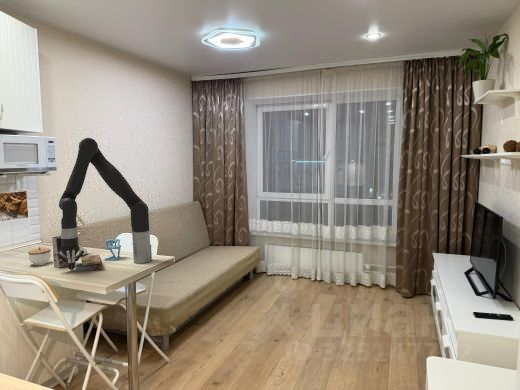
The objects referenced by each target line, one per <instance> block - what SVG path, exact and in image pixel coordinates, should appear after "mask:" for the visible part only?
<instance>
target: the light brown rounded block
mask: <svg viewBox="0 0 520 390" xmlns="http://www.w3.org/2000/svg"><path fill="white" fill-rule="evenodd" d="M80 259H81V263H82V265H83V266H85V265H92V264H97V270H99V271H103V261H102V258H101V255H100V254H95V255H94V254H93V255H87V256H86V255H85V256H81V257H80Z"/></svg>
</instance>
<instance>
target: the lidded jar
mask: <svg viewBox="0 0 520 390" xmlns="http://www.w3.org/2000/svg"><path fill="white" fill-rule="evenodd" d="M27 253H28V259H29V262H30V263H31V264H32V265H34V266H36V265H38V266H43V265H46V264H48V262H49V261H50V260H51V255H52V254H51V253H52V252H51V248H50V247H43V248H42V247H38V248H36V249H35V248H34V249H31V250H28V251H27Z"/></svg>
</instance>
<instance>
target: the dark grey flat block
mask: <svg viewBox="0 0 520 390" xmlns="http://www.w3.org/2000/svg"><path fill="white" fill-rule="evenodd" d="M93 270H98V268H97V264H92V265H85V266H83V265H82V262H80V263H76V264H75V273H78V272H86V271H93Z"/></svg>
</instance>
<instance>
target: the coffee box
mask: <svg viewBox="0 0 520 390" xmlns="http://www.w3.org/2000/svg"><path fill="white" fill-rule="evenodd" d="M51 239H52V253H53V254H52V255H53V256H52V257H53V258H52V259H53V267H56V268H57V269H61V268H65V267H69V265H68V263H67V262H66V263H65V262H64V261H63V260H62V259H60V258H59V257H58V256H57V253H59V252H60V251H61V249H62V237H61V235H57V236H53V237H52V238H51ZM62 254H63V253H62ZM62 256H63V257H64V258H65V259H67V260H68V258H67V256H65V255H64V254H63V255H62ZM70 259H71V264H72V256H70ZM76 262H77V261H76ZM76 262H75V264H77V263H76Z"/></svg>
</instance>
